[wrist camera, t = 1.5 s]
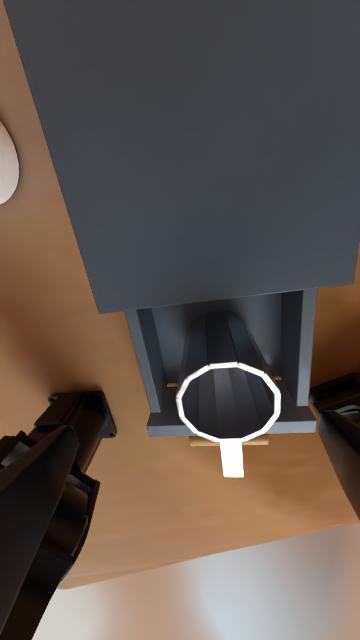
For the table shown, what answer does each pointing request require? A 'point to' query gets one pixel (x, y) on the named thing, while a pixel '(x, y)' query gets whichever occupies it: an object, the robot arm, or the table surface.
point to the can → (7, 166)
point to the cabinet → (201, 141)
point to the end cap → (339, 397)
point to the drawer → (270, 335)
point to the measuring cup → (225, 386)
